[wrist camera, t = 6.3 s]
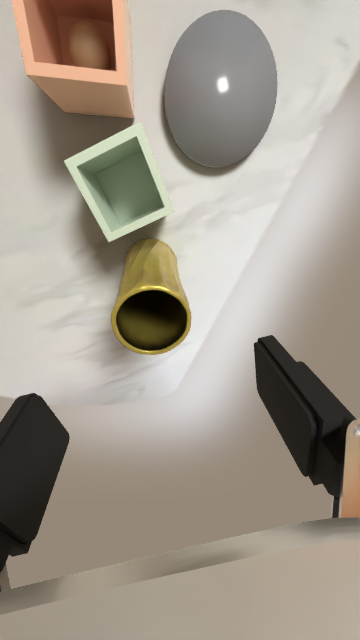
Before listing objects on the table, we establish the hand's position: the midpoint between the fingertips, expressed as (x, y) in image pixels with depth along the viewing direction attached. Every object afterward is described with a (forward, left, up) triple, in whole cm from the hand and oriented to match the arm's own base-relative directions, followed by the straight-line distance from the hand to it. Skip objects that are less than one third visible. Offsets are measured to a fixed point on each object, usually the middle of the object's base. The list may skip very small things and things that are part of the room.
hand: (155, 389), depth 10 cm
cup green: (-8, 0, -20) cm, 21 cm away
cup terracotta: (-17, 0, -20) cm, 26 cm away
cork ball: (-17, 0, -19) cm, 26 cm away
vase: (0, 0, -20) cm, 20 cm away
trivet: (-13, +10, -20) cm, 26 cm away
